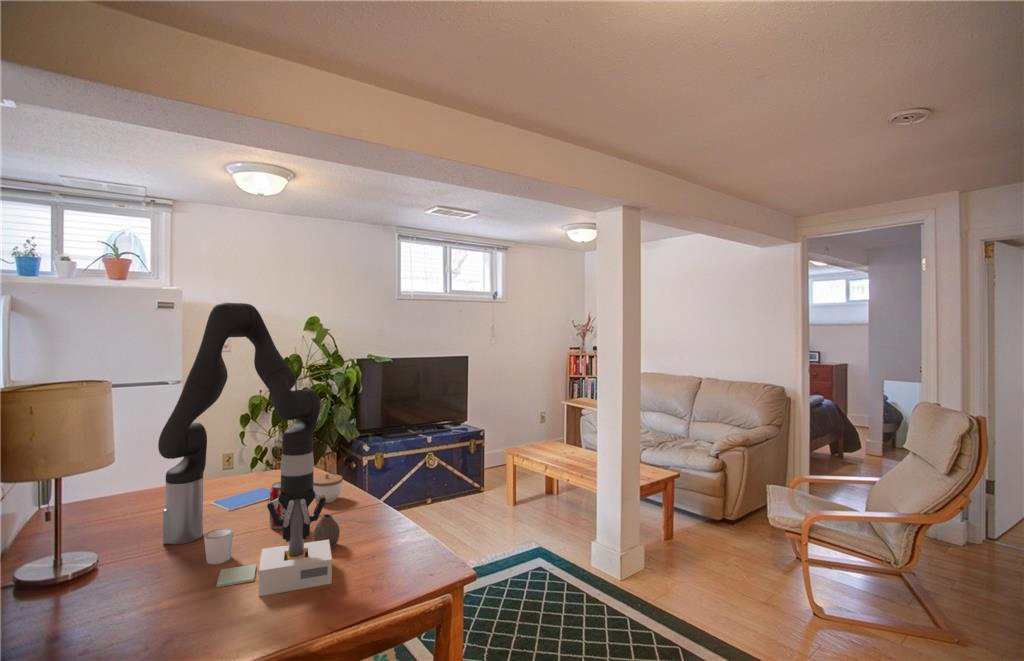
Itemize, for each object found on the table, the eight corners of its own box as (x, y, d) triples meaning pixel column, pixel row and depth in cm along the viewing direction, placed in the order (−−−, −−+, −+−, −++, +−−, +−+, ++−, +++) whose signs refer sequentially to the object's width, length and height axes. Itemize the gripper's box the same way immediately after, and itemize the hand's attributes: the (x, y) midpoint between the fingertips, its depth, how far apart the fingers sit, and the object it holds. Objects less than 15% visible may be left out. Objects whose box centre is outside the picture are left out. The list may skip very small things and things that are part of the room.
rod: (288, 557, 123) (289, 501, 123) (288, 551, 126) (289, 496, 126) (303, 555, 124) (304, 499, 124) (303, 549, 127) (304, 494, 127)
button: (287, 576, 123) (287, 558, 123) (287, 569, 126) (287, 551, 126) (304, 573, 124) (305, 555, 124) (304, 566, 128) (304, 548, 128)
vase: (344, 544, 145) (345, 513, 145) (326, 553, 139) (327, 522, 138) (326, 539, 148) (327, 509, 148) (308, 548, 141) (308, 517, 141)
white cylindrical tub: (202, 567, 130) (202, 540, 130) (204, 556, 136) (204, 530, 136) (232, 562, 133) (233, 535, 133) (233, 551, 139) (234, 526, 139)
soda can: (276, 532, 152) (277, 489, 152) (265, 526, 156) (265, 484, 156) (299, 525, 157) (299, 483, 157) (287, 519, 162) (287, 479, 162)
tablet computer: (228, 513, 167) (228, 509, 167) (209, 505, 174) (209, 501, 174) (282, 497, 184) (282, 493, 184) (263, 490, 190) (263, 486, 190)
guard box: (258, 596, 116) (258, 571, 116) (261, 572, 128) (262, 549, 128) (331, 584, 123) (331, 559, 123) (328, 561, 134) (329, 539, 134)
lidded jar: (320, 494, 186) (320, 468, 186) (347, 496, 184) (348, 470, 184) (304, 504, 175) (304, 477, 175) (333, 506, 174) (333, 479, 174)
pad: (216, 587, 120) (216, 584, 120) (220, 571, 128) (221, 569, 128) (253, 581, 123) (253, 578, 123) (256, 566, 131) (256, 564, 131)
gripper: (264, 477, 119) (264, 550, 119) (328, 471, 124) (327, 540, 124) (266, 468, 126) (265, 537, 126) (326, 463, 131) (325, 529, 131)
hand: (296, 538), depth 125 cm, fingers closed on rod, 3 cm apart
